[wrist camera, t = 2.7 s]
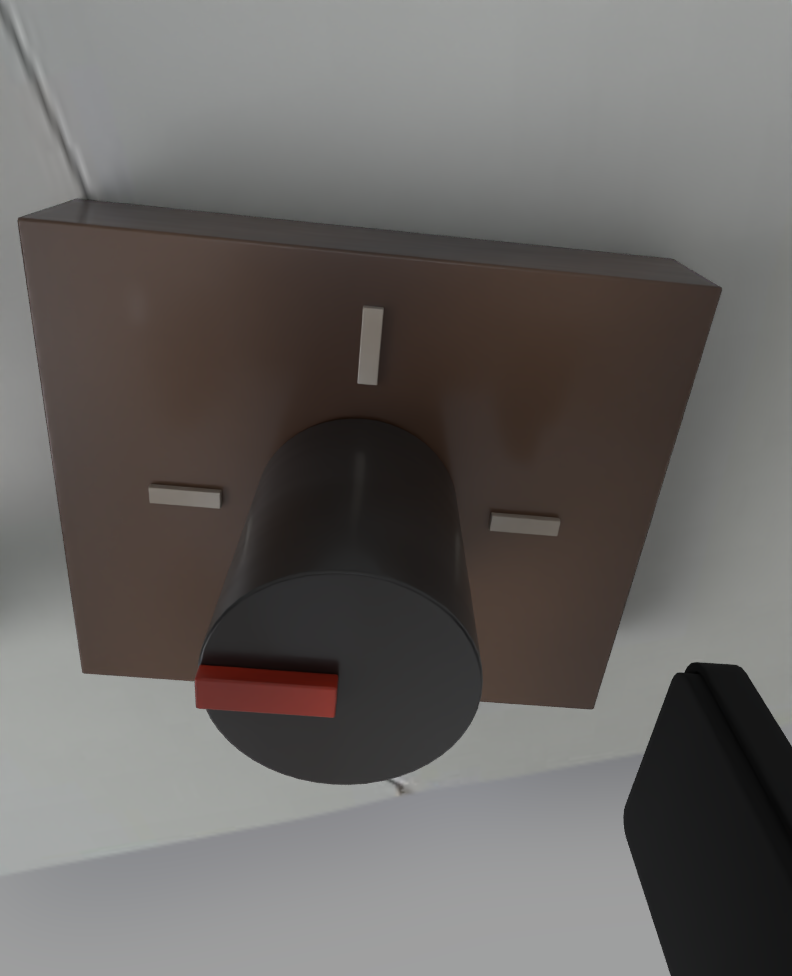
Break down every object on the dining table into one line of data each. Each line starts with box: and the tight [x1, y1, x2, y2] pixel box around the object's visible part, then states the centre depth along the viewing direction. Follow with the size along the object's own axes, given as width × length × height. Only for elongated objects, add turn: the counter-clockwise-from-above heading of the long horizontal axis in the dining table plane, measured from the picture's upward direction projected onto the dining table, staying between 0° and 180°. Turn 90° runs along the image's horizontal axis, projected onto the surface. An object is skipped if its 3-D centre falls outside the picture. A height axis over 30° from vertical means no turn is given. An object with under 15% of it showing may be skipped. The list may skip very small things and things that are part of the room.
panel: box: [18, 199, 722, 709], centre depth 16 cm, size 12×10×3 cm
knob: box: [195, 419, 483, 785], centre depth 12 cm, size 4×4×5 cm
